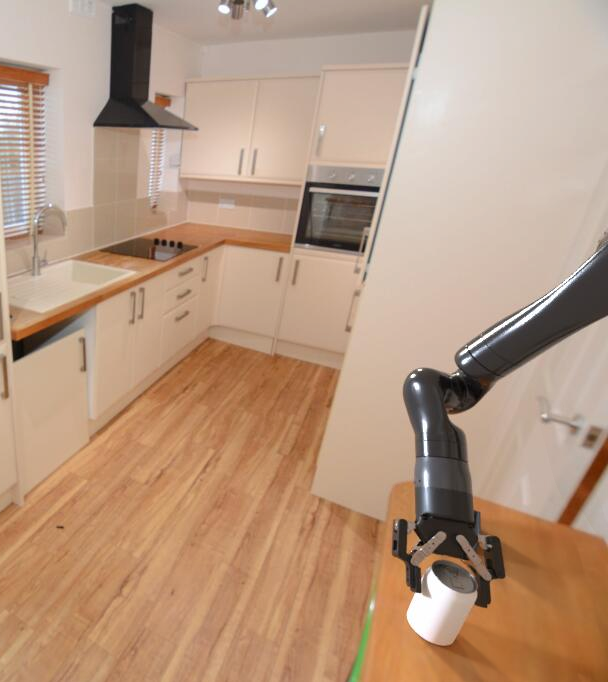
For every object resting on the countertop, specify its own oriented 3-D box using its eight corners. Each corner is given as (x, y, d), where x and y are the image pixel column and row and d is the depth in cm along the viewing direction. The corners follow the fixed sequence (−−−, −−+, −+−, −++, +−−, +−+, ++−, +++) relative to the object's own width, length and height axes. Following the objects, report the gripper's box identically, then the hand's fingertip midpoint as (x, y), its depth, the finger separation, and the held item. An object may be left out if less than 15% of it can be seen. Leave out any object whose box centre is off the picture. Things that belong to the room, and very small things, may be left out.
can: (444, 613, 75) (469, 562, 70) (461, 652, 70) (490, 600, 64) (400, 603, 77) (421, 553, 72) (413, 641, 71) (437, 589, 66)
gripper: (403, 479, 72) (405, 592, 67) (509, 496, 69) (520, 617, 64) (384, 482, 79) (385, 584, 74) (480, 498, 76) (488, 606, 71)
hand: (448, 599), depth 69 cm, fingers open, 8 cm apart
